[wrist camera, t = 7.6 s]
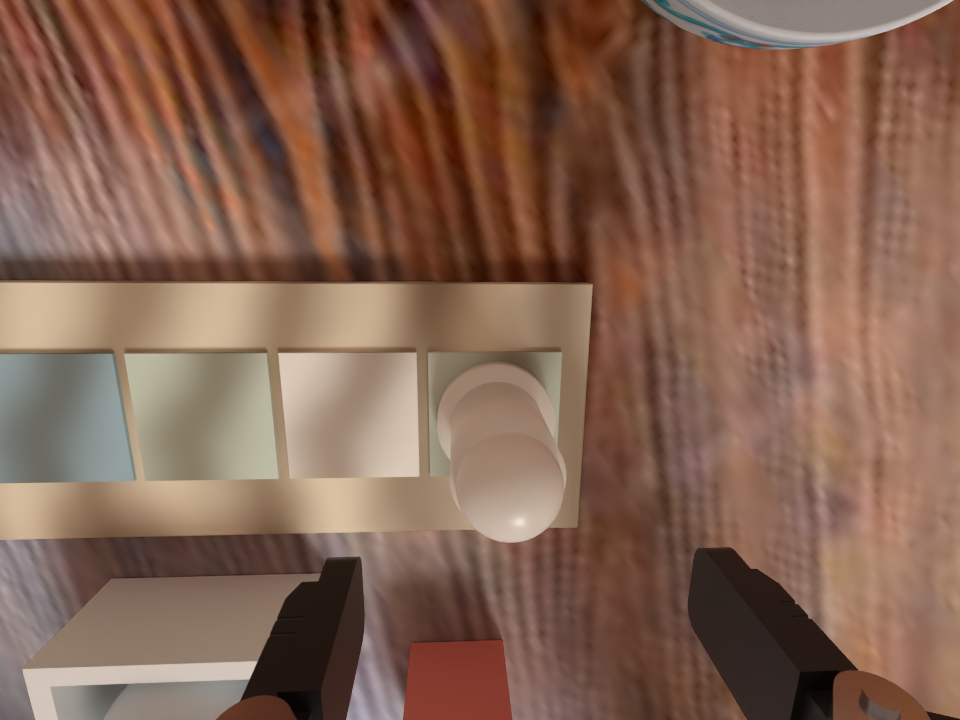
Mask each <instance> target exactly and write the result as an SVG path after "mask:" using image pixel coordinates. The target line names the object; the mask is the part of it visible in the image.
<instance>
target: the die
mask: <svg viewBox="0 0 960 720" xmlns="http://www.w3.org/2000/svg"><path fill="white" fill-rule="evenodd" d="M403 720H512V714H511V706H510V697H509V689H508V681H507V672H506V664H505V656H504V647H503V640H485V641H454V642H423V643H411V647H410V657H409V667H408V677H407V686H406V696H405V706H404V715H403Z"/></svg>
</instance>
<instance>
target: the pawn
mask: <svg viewBox="0 0 960 720" xmlns="http://www.w3.org/2000/svg"><path fill="white" fill-rule="evenodd" d="M437 433H438V438H439V442H440V444H441V447H442V449H443V451H444V453H445V454H446V456H447V457H448V458H449V460H450V488H451V493H452V496H453V499H454V501H455V503H456V505H457V507H458V508H459V509H460V511H461V512H462V513H463V515H464V517H465V518H466V519H467V521H468V522H469V523H470V525H471V526H472V527H473V528H474V529H476V530H477V531H478V532H479V533H481V534H482V535H484V536H486V537H488V538H490V539H493V540H496V541H499V542H508V543H514V542H522V541H526V540H529V539H531V538H533V537H535V536H537V535H539V534H540V533H542V532H543V531H544V530H546V529H547V528H548V527H549V526H550V525H551V523H552V522H553V521H554V519H555V518H556V516H557V514H558V513H559V510H560V508H561V505H562V501H563V496H564V489H565V486H566V468H565V463H564V460H563V457H562V455H561V453H560V451H559V449H558V447H557V445H556V443H555V441H554V439H553V437H554V433H555V412H554V408H553V405H552V402H551V400H550V398H549V396H548V394H547V393H546V391H545V389H544V388H543V386H542V385H541V383H540V382H539V381H538V380H537V378H536V377H535V376H533V375H532V374H531V373H530V372H529V371H527V370H525V369H524V368H522V367H520V366H518V365H515V364H512V363H508V362H501V361H490V362H484V363H479V364H476V365H473V366H471V367H469V368H467V369H465V370H464V371H462V372H461V373H459V374H458V375H457V376H456V377H455V378H454V379H453V380H452V381H451V382H450V383H449V384H448V386H447V387H446V389H445V391H444V392H443V394H442V397H441V400H440V403H439V408H438V417H437Z"/></svg>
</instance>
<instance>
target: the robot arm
mask: <svg viewBox="0 0 960 720" xmlns="http://www.w3.org/2000/svg"><path fill="white" fill-rule="evenodd" d="M688 612H689V618H690V621H691V625H692V627H693V629H694V631H695V633H696V635H697V637H698V638H699V640H700V642H701V643H702V645H703V647H704V648H705V650H706V652H707V653H708V655H709V657H710V658H711V660H712V662H713V663H714V665H715V667H716V668H717V670H718V672H719V673H720V675H721V677H722V678H723V680H724V682H725V683H726V685H727V687H728V688H729V690H730V692H731V693H732V695H733V697H734V698H735V700H736V702H737V703H738V705H739V707H740V708H741V710H742V712H743V713H744V715H745V717H746V718H747V720H960V719H958V718H953V717H949V716H945V715H940V714H936V713H931V712H927V711H925V710H924V708H923V707H922V706H921V705H920V704H919V703H918V702H917V700H916V699H914V698H913V697H912V696H911V695H910V694H909V693H907V692H906V691H905V690H903V689H902V688H900V687H899V686H897V685H896V684H894V683H892V682H890V681H888V680H886V679H884V678H882V677H880V676H877V675H874V674H871V673H868V672H864V671H859V670H858V669H857V668H856V667H855V666H854V665H853V664H852V663H851V662H850V661H849V659H848V658H847V657H846V656H845V655H844V654H843V653H842V652H841V651H840V650H839V649H838V647H837V646H836V645H835V644H834V643H833V642H832V641H831V640H830V639H829V638H828V637H827V635H826V634H825V633H824V632H823V631H822V630H821V629H820V628H819V627H818V626H817V625H816V623H815V622H814V621H813V620H812V619H809V618H808V615H807V614H806V613H805V611H804V610H803V609H802V608H801V607H800V606H799V605H798V604H795V601H794V599H793V598H792V597H791V596H790V595H789V594H788V593H787V592H786V591H785V590H784V589H783V587H782V586H781V585H780V584H779V583H777V582H776V581H774V580H773V579H771V578H770V577H768V576H767V575H765V574H764V573H762V572H761V571H759V570H758V569H750V567H749V566H748V565H747V564H746V563H745V562H744V561H743V559H742V558H741V557H740V556H739V555H738V554H737V553H736V551H734V550H733V549H732V548H730V547H727V548H699V549H697V550H696V552H695V554H694V560H693V568H692V575H691V583H690V590H689V598H688ZM364 619H365V613H364V595H363V578H362V563H361V558H360V557H333V558H327V560H326V562H325V564H324V567H323V570H322V572H321V575H320V578H319V580H318V581H310V582H301V583H300V584H299V585H298V586H297V587H296V588H295V589H294V590H293V591H292V592H291V593H290V594H289V595H288V596H287V597H286V598H285V601H284V603H283V605H282V607H281V610H280V612H279V614H278V616H277V621H275V623H274V625H273V628H272V630H271V632H270V637H268V639H267V641H266V644H265V646H264V648H263V650H262V653H261V655H260V657H259V659H258V662H257V664H256V666H255V668H254V671H253V673H252V675H251V677H250V680H249V682H248V684H247V686H246V689H245V691H244V693H243V696H242V698H241V700H240V702H238V703H236V704H234V705H233V706H231V707H230V708H228V709H227V710H226V711H224V712H223V713H222V714H221V715H220V716H219V717H218V718H217V719H216V720H346V717H347V712H348V708H349V703H350V698H351V693H352V689H353V684H354V679H355V674H356V670H357V665H358V660H359V656H360V651H361V646H362V641H363V634H364Z"/></svg>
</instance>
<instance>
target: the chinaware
mask: <svg viewBox="0 0 960 720" xmlns="http://www.w3.org/2000/svg"><path fill="white" fill-rule="evenodd" d="M642 1H643V2H644V3H645V4H646V5H647V6H649V7H650V8H651V9H652V10H654V11H655V12H656V13H657V14H659V15H660V16H662V17H663V18H665V19H666V20H668V21H669V22H671V23H673V24H674V25H676V26H678V27H680V28H682V29H684V30H686V31H688V32H690V33H692V34H695V35H697V36H700V37H703V38H706V39H709V40H712V41H715V42H719V43H723V44H727V45H732V46H738V47H745V48H754V49H799V48H810V47H818V46H825V45H831V44H837V43H842V42H847V41H852V40H857V39H861V38H865V37H869V36H872V35H876V34H879V33H882V32H886V31H889V30H892V29H895V28H897V27H900V26H903V25H905V24H908V23H910V22H912V21H915V20H917V19H919V18H921V17H924V16H926V15H928V14H930V13H932V12H934V11H936V10H937V9H939V8H941V7H943V6H945V5H946V4H948V3H950V2H951V1H953V0H642Z"/></svg>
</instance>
